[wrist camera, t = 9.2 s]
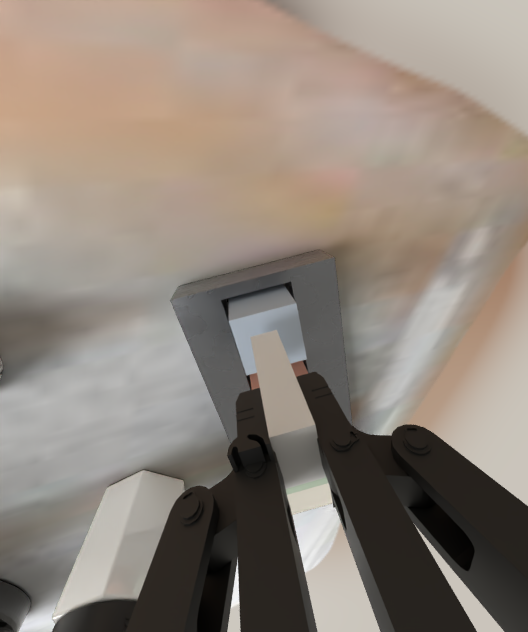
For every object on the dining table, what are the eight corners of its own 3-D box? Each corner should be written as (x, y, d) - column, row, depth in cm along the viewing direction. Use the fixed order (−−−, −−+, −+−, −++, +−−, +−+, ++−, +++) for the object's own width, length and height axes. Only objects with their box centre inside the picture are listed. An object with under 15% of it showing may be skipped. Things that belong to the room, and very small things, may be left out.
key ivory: (282, 468, 27) (291, 514, 23) (274, 443, 25) (283, 489, 21) (317, 458, 27) (333, 503, 23) (312, 433, 25) (328, 476, 21)
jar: (189, 515, 30) (168, 689, 19) (117, 523, 29) (51, 712, 18) (184, 465, 27) (154, 644, 16) (101, 472, 26) (8, 670, 15)
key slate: (242, 340, 20) (246, 375, 16) (228, 294, 18) (228, 320, 14) (291, 327, 20) (306, 359, 16) (281, 281, 18) (296, 303, 14)
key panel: (252, 473, 29) (255, 501, 26) (178, 286, 19) (170, 300, 16) (345, 447, 29) (357, 472, 26) (319, 249, 19) (334, 257, 16)
